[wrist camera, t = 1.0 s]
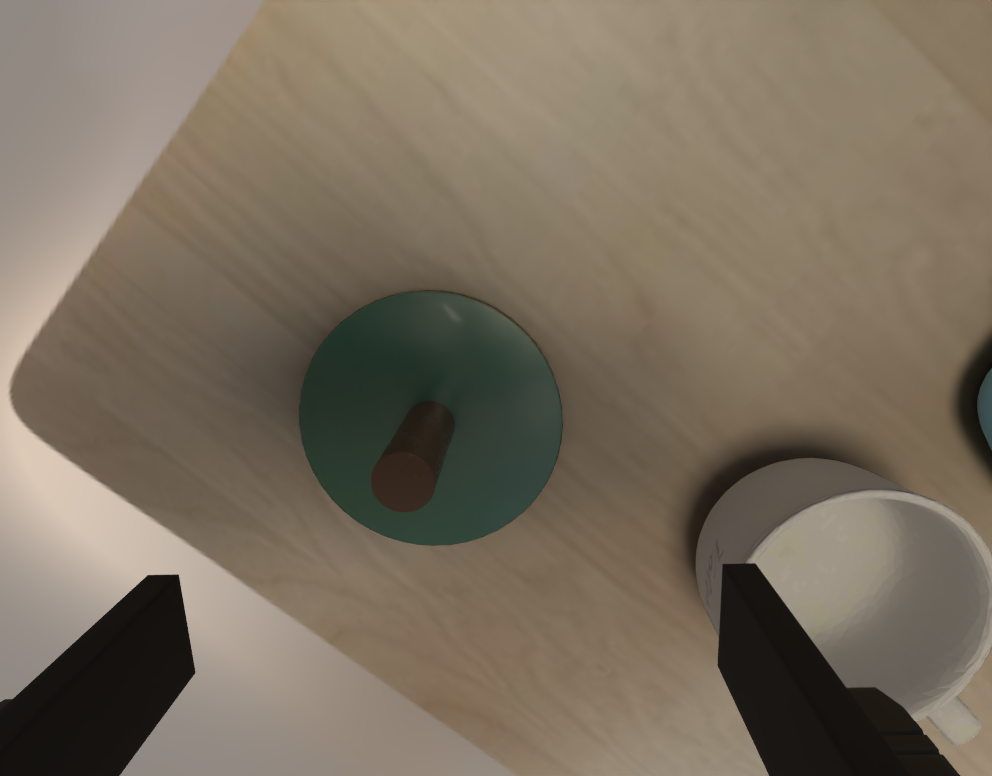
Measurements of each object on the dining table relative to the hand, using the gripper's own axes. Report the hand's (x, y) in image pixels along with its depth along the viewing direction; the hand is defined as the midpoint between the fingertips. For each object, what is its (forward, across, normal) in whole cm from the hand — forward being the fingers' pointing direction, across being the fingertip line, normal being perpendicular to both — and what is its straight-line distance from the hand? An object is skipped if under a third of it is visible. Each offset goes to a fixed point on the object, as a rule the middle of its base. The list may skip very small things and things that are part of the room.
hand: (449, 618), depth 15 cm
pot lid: (+16, -3, 0) cm, 17 cm away
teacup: (+17, +16, -8) cm, 25 cm away
